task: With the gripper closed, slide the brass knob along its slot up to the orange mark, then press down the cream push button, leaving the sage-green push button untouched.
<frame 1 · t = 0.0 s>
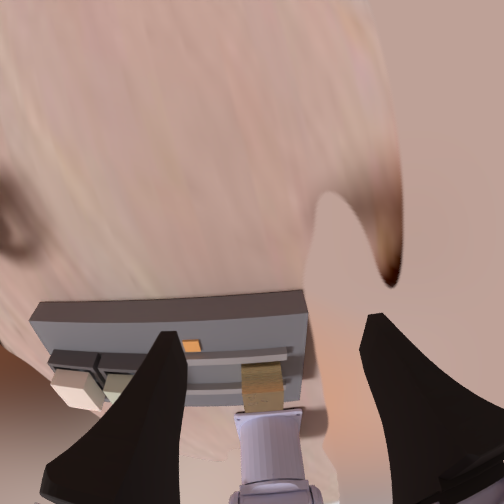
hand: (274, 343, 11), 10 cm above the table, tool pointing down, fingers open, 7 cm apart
button cream: (78, 390, 22), point 5 cm above the table, slide at 0.0 cm
button sage: (133, 395, 22), point 5 cm above the table, slide at 0.0 cm
slider knob: (262, 386, 23), point 4 cm above the table, slide at 0.0 cm
control panel: (169, 350, 26), on the table
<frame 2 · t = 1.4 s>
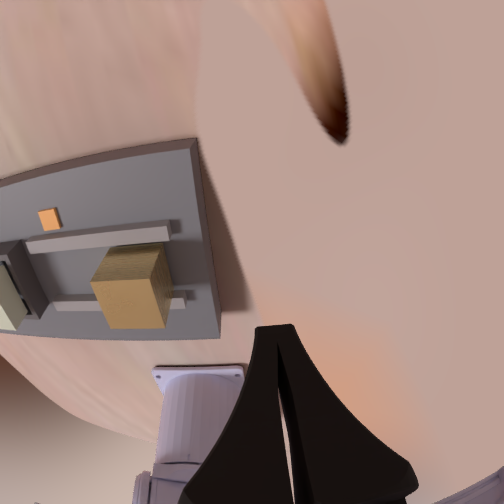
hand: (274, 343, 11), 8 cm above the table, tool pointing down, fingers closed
slider knob: (135, 286, 15), point 4 cm above the table, slide at 0.0 cm
control panel: (51, 252, 18), on the table
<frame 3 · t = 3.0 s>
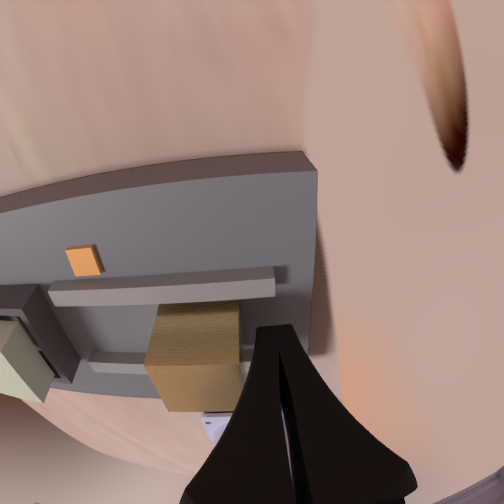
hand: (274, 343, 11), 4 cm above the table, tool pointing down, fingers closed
button sage: (5, 360, 10), point 5 cm above the table, slide at 0.0 cm
slider knob: (201, 357, 11), point 4 cm above the table, slide at 0.8 cm, touching gripper
control panel: (78, 292, 14), on the table
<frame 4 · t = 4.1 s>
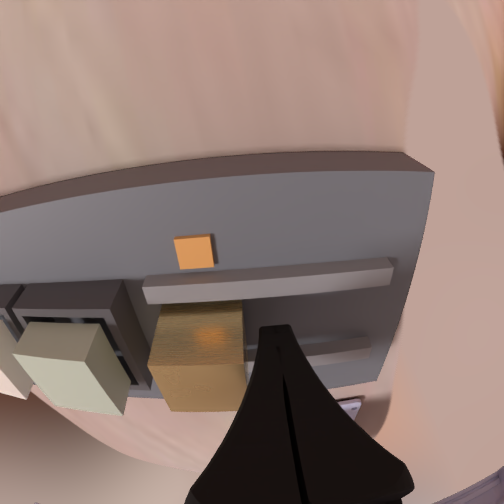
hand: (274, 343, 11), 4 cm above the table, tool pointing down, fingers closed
button sage: (73, 370, 10), point 5 cm above the table, slide at 0.0 cm
slider knob: (205, 357, 11), point 4 cm above the table, slide at 5.1 cm, touching gripper
control panel: (152, 289, 14), on the table
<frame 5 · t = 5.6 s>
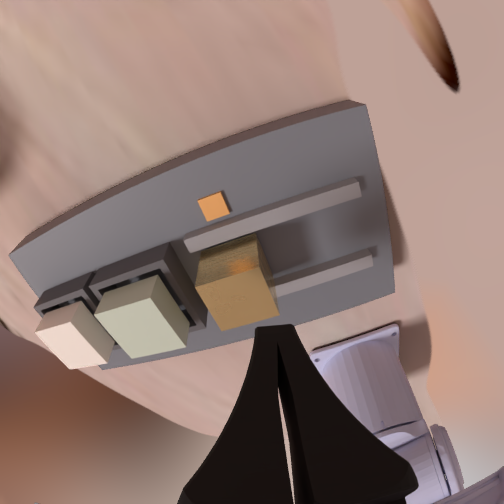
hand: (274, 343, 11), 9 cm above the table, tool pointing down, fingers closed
button cream: (74, 337, 16), point 5 cm above the table, slide at 0.0 cm
button sage: (143, 319, 15), point 5 cm above the table, slide at 0.0 cm
slider knob: (238, 282, 15), point 4 cm above the table, slide at 5.1 cm
control panel: (194, 253, 19), on the table
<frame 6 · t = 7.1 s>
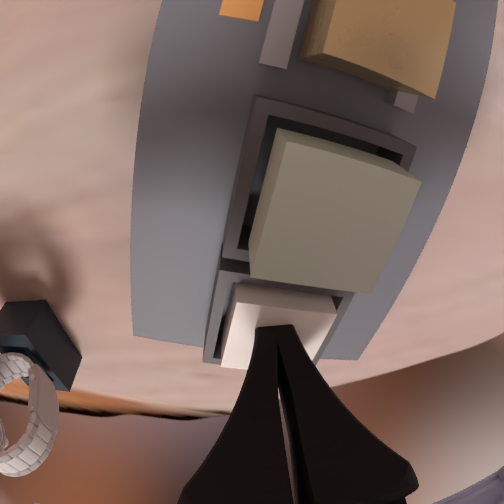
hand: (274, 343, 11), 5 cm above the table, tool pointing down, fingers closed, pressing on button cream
button cream: (273, 326, 12), point 4 cm above the table, slide at 1.2 cm, touching gripper
button sage: (328, 213, 8), point 5 cm above the table, slide at 0.0 cm
slider knob: (372, 27, 6), point 4 cm above the table, slide at 5.1 cm
watch: (43, 329, 18), on the table
control panel: (312, 105, 11), on the table
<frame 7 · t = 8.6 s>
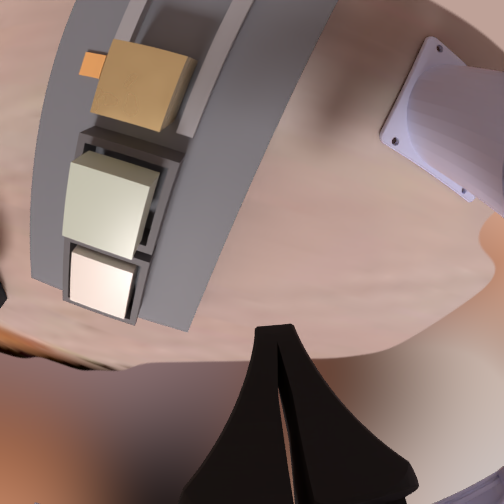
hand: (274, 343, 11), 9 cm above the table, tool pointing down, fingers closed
button cream: (103, 278, 16), point 4 cm above the table, slide at 1.4 cm
button sage: (108, 204, 13), point 5 cm above the table, slide at 0.0 cm
slider knob: (146, 82, 11), point 4 cm above the table, slide at 5.1 cm
control panel: (151, 129, 16), on the table
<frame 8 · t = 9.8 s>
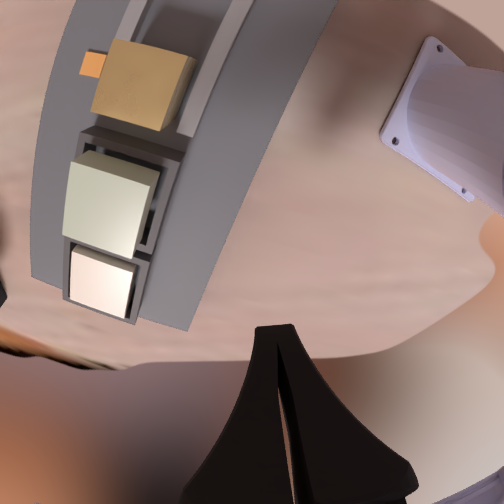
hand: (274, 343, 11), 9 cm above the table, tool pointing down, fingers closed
button cream: (103, 277, 16), point 4 cm above the table, slide at 1.4 cm
button sage: (108, 203, 13), point 5 cm above the table, slide at 0.0 cm
slider knob: (146, 82, 11), point 4 cm above the table, slide at 5.1 cm
control panel: (151, 128, 16), on the table
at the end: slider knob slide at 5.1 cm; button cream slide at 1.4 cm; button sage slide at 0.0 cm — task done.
